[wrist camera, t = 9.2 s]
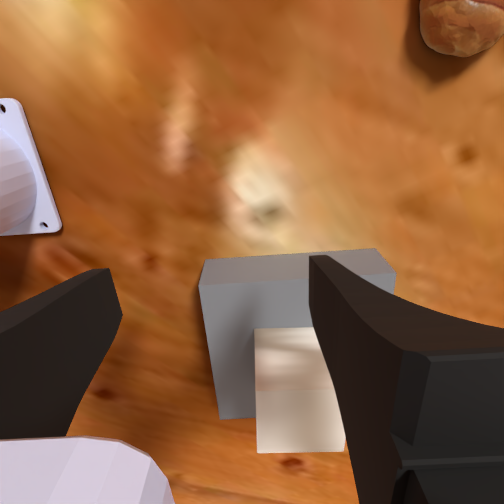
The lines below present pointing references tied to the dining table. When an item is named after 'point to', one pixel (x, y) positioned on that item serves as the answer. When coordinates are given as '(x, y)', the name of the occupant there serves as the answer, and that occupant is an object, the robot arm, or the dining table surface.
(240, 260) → the gray panel
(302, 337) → the cream block
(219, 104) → the dining table surface
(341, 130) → the dining table surface
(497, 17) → the pastry
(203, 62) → the dining table surface
